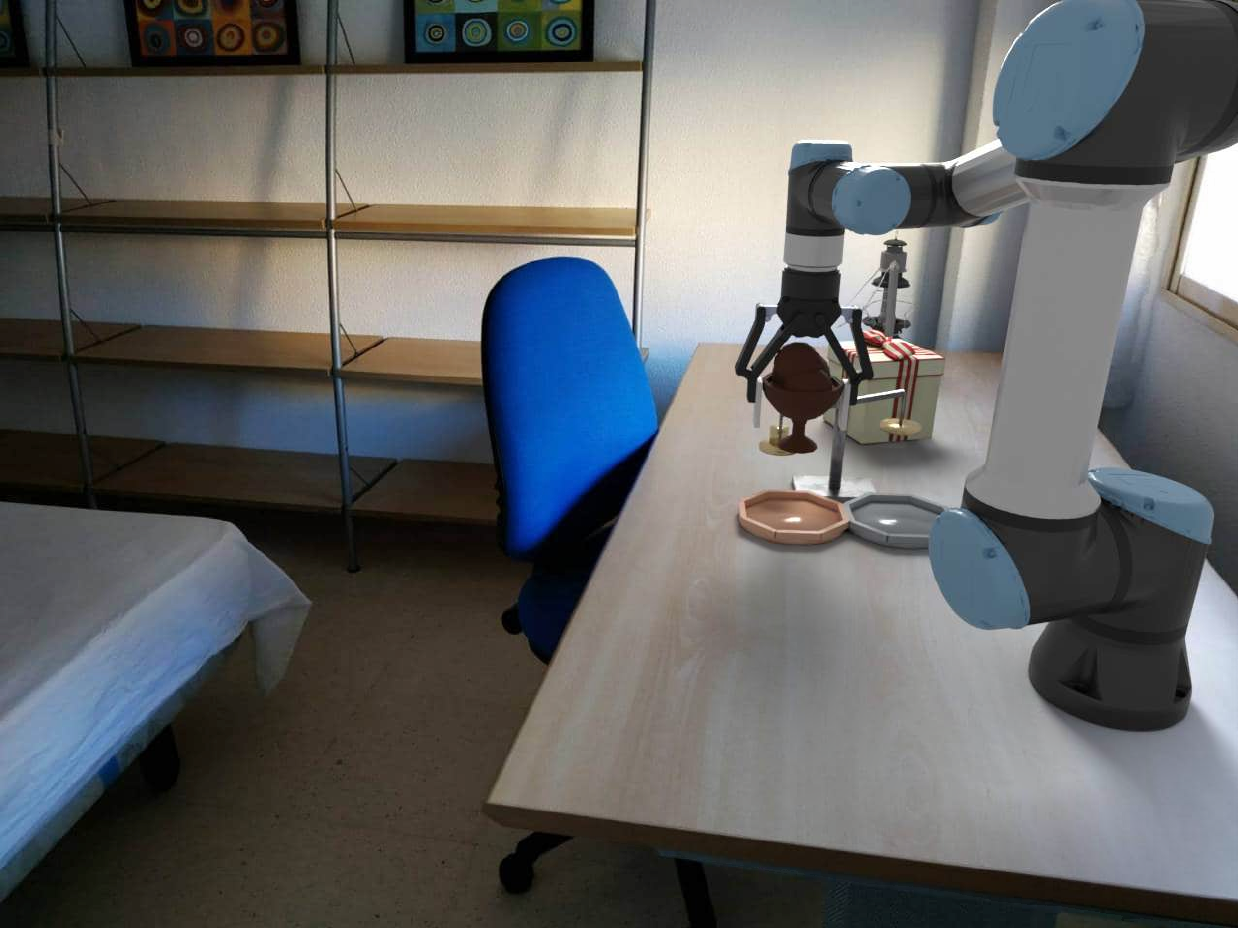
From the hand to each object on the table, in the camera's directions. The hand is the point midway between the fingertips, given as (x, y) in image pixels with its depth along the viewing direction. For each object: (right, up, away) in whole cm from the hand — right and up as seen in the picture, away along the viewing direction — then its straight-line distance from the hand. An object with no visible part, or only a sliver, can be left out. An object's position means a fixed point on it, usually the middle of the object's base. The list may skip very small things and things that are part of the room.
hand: (799, 426), depth 135 cm
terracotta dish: (0, -14, +5) cm, 14 cm away
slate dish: (+15, -14, +4) cm, 21 cm away
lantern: (+32, +16, +81) cm, 88 cm away
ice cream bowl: (0, -3, +1) cm, 3 cm away
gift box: (+23, +1, +44) cm, 50 cm away
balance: (+8, -10, +15) cm, 20 cm away
